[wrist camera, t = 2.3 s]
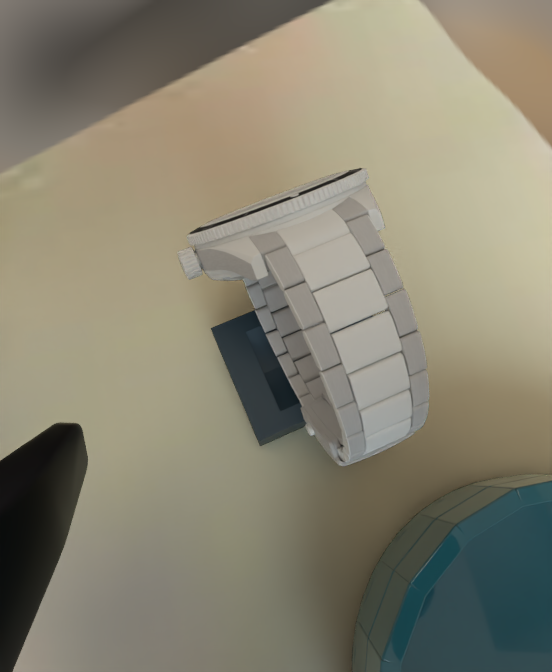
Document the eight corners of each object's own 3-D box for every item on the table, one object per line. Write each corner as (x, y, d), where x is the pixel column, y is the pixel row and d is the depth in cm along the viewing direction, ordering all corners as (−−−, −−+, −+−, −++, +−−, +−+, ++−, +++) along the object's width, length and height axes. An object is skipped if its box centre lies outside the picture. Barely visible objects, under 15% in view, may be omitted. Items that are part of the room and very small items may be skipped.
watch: (319, 260, 22) (364, 64, 12) (404, 430, 20) (551, 384, 10) (200, 308, 22) (131, 148, 11) (276, 489, 20) (282, 509, 9)
